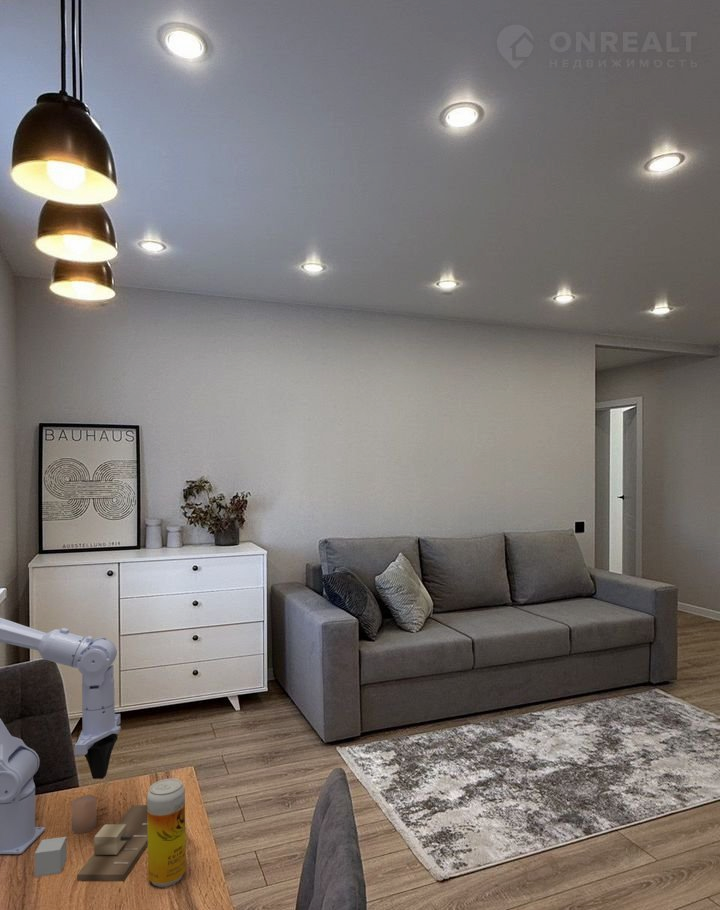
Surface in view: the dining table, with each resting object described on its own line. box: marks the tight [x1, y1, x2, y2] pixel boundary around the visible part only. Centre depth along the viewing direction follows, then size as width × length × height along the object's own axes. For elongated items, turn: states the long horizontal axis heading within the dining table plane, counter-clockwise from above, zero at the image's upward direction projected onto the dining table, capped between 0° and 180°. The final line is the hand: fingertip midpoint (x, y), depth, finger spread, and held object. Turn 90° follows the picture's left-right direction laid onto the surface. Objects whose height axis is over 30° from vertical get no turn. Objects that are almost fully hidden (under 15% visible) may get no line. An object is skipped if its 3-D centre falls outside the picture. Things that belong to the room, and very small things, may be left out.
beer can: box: [146, 777, 187, 888], centre depth 103 cm, size 6×6×15 cm
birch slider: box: [93, 823, 132, 855], centre depth 109 cm, size 6×4×3 cm
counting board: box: [76, 804, 148, 882], centre depth 113 cm, size 8×22×1 cm, turn 177°
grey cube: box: [34, 836, 67, 878], centre depth 106 cm, size 4×4×4 cm
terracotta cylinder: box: [70, 794, 97, 835], centre depth 118 cm, size 4×4×5 cm
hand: (99, 777), depth 117 cm, fingers closed
